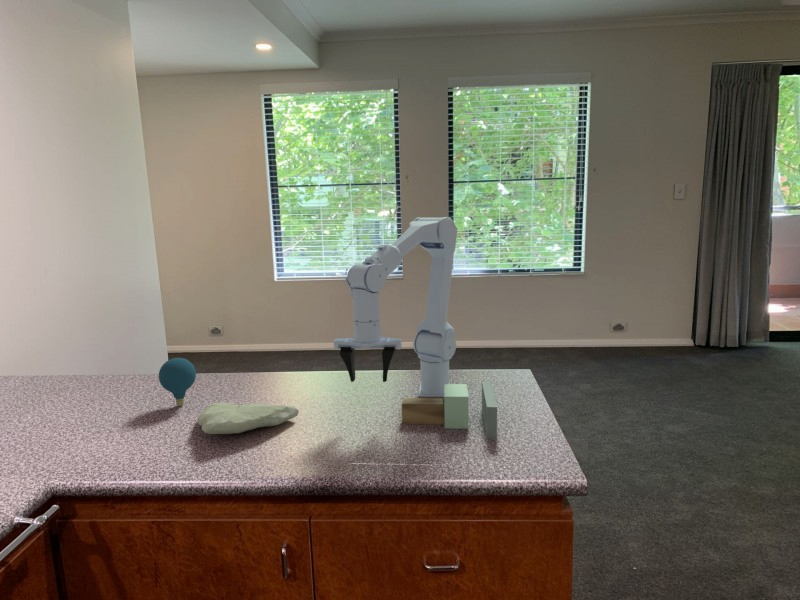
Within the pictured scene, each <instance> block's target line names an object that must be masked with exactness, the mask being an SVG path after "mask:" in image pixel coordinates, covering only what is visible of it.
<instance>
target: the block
mask: <svg viewBox="0 0 800 600" xmlns="http://www.w3.org/2000/svg"><path fill="white" fill-rule="evenodd" d="M468 391H469V390H468V384H466V383H464V384H463V383H450V384H444V397H443V398H444V411H445V424H444V429H451V430H452V429H457V430H459V429H460V430H462V429H463V430H465V429H467V430H469V392H468Z"/></svg>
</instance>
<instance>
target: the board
mask: <svg viewBox="0 0 800 600" xmlns="http://www.w3.org/2000/svg"><path fill="white" fill-rule="evenodd" d="M481 413H482V418H483V425H484V431H485V436H486V440H498V405H497V402H496V396H495V393H494V390H493V385H492V381H489V380H487V381H484V380H482V381H481Z"/></svg>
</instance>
